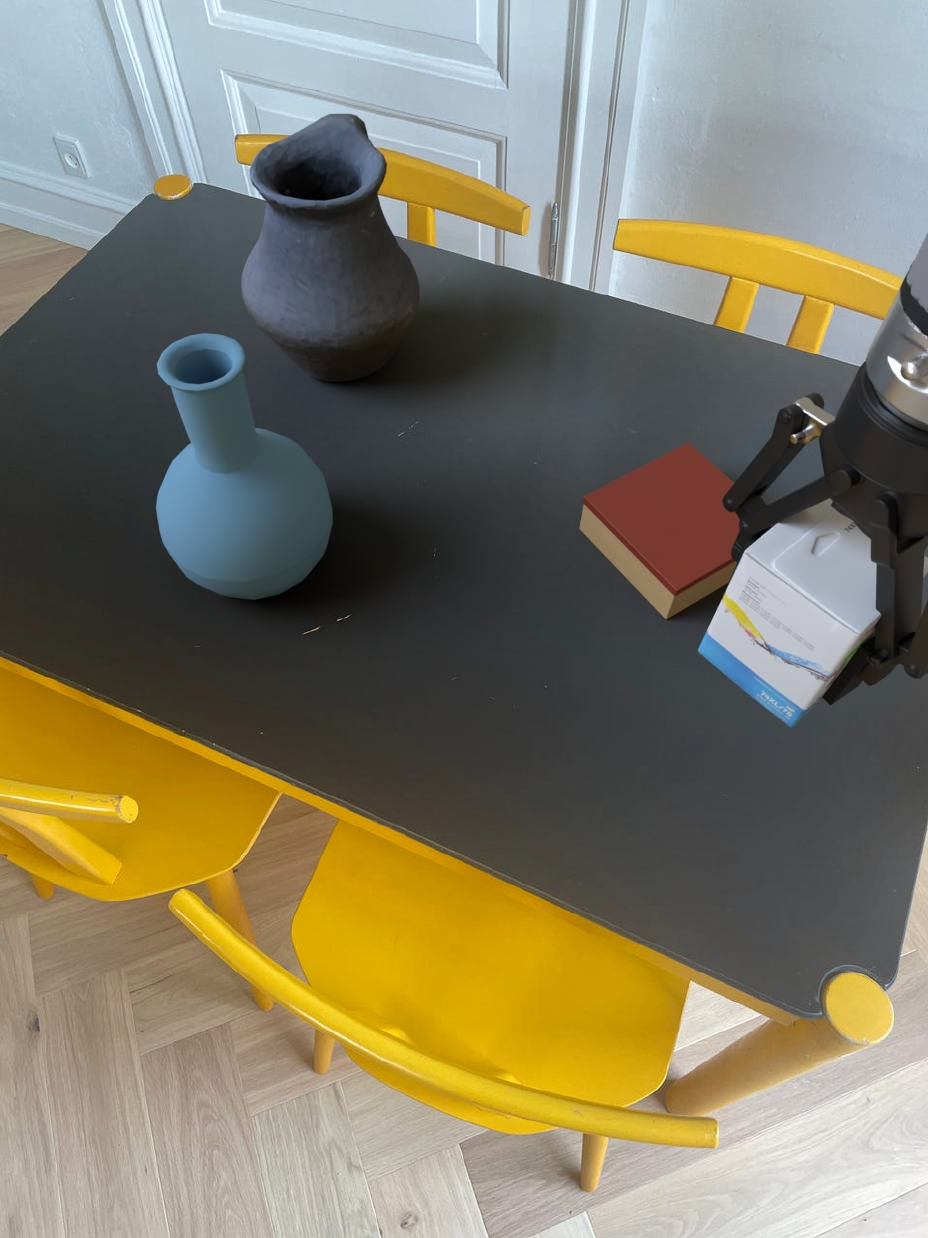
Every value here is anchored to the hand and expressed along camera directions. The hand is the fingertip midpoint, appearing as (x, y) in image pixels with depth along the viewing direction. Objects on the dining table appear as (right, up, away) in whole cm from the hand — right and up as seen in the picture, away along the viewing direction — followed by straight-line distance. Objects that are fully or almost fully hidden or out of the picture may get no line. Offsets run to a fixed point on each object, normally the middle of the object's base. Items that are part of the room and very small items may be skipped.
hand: (787, 640), depth 60 cm
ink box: (0, -1, +2) cm, 2 cm away
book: (-1, +9, +30) cm, 32 cm away
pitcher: (-38, +35, +48) cm, 70 cm away
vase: (-44, +8, +29) cm, 53 cm away
